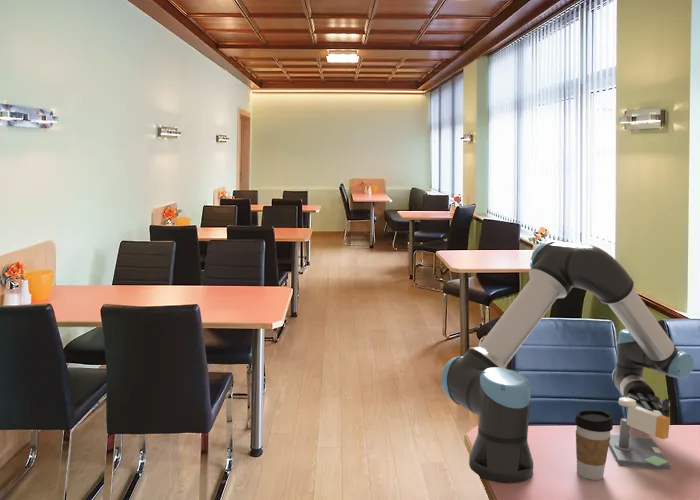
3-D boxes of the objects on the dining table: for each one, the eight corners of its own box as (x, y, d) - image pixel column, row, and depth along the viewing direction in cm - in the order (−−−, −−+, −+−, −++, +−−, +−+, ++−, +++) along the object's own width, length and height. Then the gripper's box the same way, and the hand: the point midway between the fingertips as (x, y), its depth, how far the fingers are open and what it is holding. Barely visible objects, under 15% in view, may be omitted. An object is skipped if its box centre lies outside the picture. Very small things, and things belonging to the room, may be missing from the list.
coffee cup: (612, 484, 143) (617, 422, 141) (574, 480, 145) (578, 419, 143) (604, 468, 151) (609, 409, 149) (568, 464, 153) (572, 405, 151)
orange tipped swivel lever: (612, 444, 161) (615, 398, 159) (621, 441, 163) (625, 396, 161) (658, 465, 150) (662, 416, 148) (668, 461, 152) (672, 413, 150)
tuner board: (619, 467, 152) (620, 461, 152) (604, 438, 169) (604, 432, 169) (672, 472, 150) (672, 466, 149) (651, 442, 167) (651, 437, 166)
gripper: (660, 407, 174) (690, 442, 151) (612, 403, 177) (634, 437, 154) (663, 381, 174) (693, 413, 150) (613, 378, 176) (636, 408, 153)
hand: (663, 425), depth 152 cm, fingers closed
